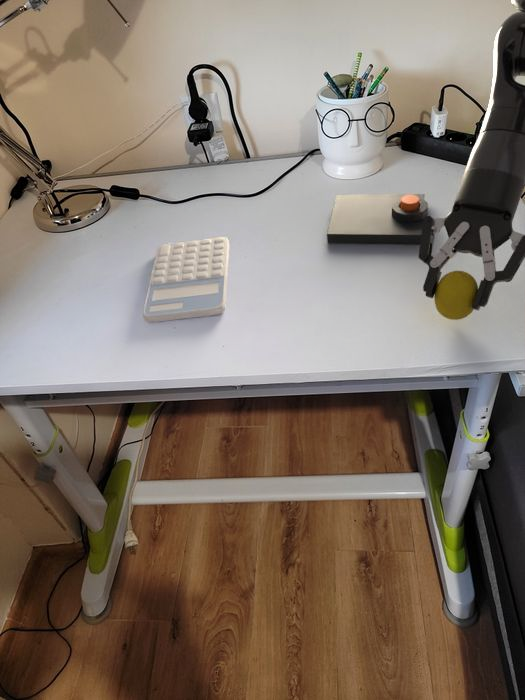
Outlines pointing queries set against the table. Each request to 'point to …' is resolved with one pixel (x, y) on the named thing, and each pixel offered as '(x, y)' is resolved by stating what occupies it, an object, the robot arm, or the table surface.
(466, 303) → the lemon
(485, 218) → the robot arm
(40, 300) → the table surface
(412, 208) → the button
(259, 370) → the table surface
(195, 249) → the calculator
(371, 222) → the scale
